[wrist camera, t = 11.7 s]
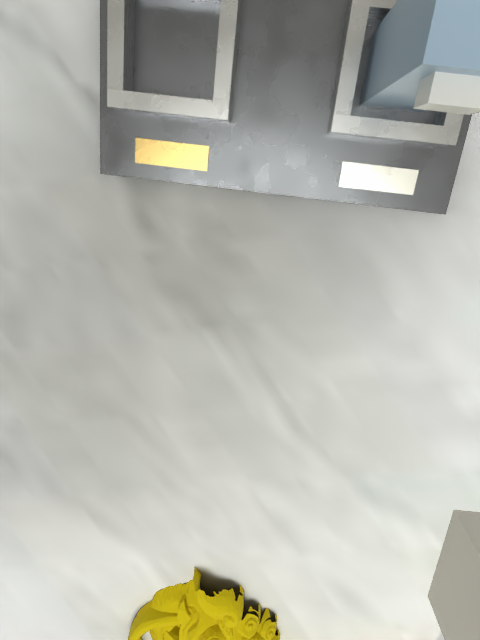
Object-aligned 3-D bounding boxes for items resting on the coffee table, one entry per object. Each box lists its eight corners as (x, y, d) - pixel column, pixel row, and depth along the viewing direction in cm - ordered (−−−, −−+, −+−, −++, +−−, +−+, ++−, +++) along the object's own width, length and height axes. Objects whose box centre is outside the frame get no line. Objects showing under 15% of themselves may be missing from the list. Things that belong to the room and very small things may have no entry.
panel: (105, 173, 32) (89, 174, 29) (106, -108, 26) (85, -140, 24) (440, 212, 31) (456, 217, 28) (513, -69, 26) (542, -98, 23)
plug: (356, 124, 29) (414, 97, 16) (372, 33, 27) (452, -73, 15) (418, 131, 29) (523, 109, 16) (438, 40, 27) (574, -61, 15)
